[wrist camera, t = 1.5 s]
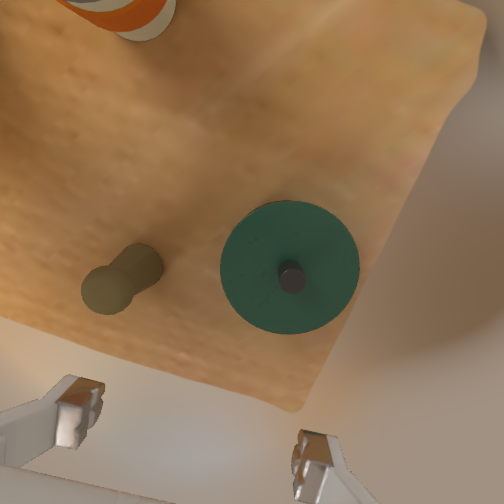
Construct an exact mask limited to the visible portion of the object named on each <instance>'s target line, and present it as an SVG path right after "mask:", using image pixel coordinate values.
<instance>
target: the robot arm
mask: <svg viewBox="0 0 504 504" xmlns="http://www.w3.org/2000/svg"><path fill="white" fill-rule="evenodd" d="M104 392H105V384H104V383H102V382H97V381H94V380H90V379H86V378H82V377H77V376H73V375H70V374H69V375H66V376H65V377H63V378H62V379H61V380H60V381H59V382H58V383H57V384H56V385H55V386H54V387H53V388H52V389H51V390H50V391H49V392H48V393H47V394H46V395H45V396H44V397H43V398H42V399H41V400H39V399H36V400H32V401H30V402H27V403H24V404H21V405H19V406H16V407H13V408H11V409H8V410H5V411H2V412H0V504H174V503H170V502H166V501H161V500H157V499H152V498H147V497H143V496H139V495H135V494H130V493H126V492H121V491H117V490H113V489H108V488H104V487H99V486H95V485H90V484H86V483H82V482H78V481H73V480H69V479H65V478H60V477H56V476H51V475H47V474H43V473H38V472H34V471H29V470H25V469H21V468H20V467H21V466H23V465H24V464H26V463H28V462H29V461H31V460H33V459H34V458H36V457H38V456H39V455H41V454H43V453H44V452H46V451H47V450H49V449H51V448H52V447H53V446H58V447H63V448H68V449H73V450H77V449H78V447H79V446H80V444H81V443H82V441H83V440H84V439H85V437H86V434H87V430H88V429H90V428H92V427H93V426H94V424H95V423H96V421H97V419H98V417H99V415H100V413H101V410H102V405H103V401H102V399H101V396H102V395H103V394H104ZM291 467H292V474H293V475H294V476H295V479H294V482H293V489H294V499H295V501H300V502H303V503H307V504H380V503H379V502H378V501H377V500H376V498H375V497H374V496H373V495H372V494H371V493H370V492H369V491H368V489H367V488H366V487H365V486H364V485H363V484H362V483H361V482H360V481H359V479H358V478H357V477H356V476H355V475H354V474H353V473H352V472H351V471H348V470H347V466H346V463H345V459H344V456H343V452H342V449H341V446H340V443H339V439H338V437H337V436H332V435H328V434H321V433H317V432H312V431H308V430H303V429H301V430H300V431H299V434H298V444H297V445H296V446H295V447H294V450H293V455H292V464H291Z"/></svg>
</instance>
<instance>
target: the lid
mask: <svg viewBox="0 0 504 504" xmlns="http://www.w3.org/2000/svg"><path fill="white" fill-rule="evenodd" d="M359 269H360V267H359V255H358V250H357V247H356V244H355V242H354V240H353V238H352V235H351V234H350V232H349V231H348V229H347V228H346V227H345V225H344V224H343V223H342V222H341V221H340V220H339V219H338V218H336V217H335V216H334V215H333V214H331V213H330V212H328V211H327V210H325V209H323V208H321V207H319V206H316V205H313V204H310V203H306V202H300V201H282V202H276V203H272V204H268V205H266V206H263V207H261V208H259V209H257V210H255V211H253V212H252V213H250V214H249V215H247V216H246V217H245V218H244V219H243V220H242V221H241V222H240V223H238V225H237V226H236V227H235V228H234V230H233V231H232V233H231V234H230V236H229V238H228V239H227V242H226V244H225V246H224V249H223V253H222V257H221V264H220V274H221V282H222V285H223V289H224V292H225V294H226V296H227V299H228V300H229V302H230V304H231V305H232V307H233V308H234V309H235V310H236V312H237V313H238V314H239V315H240V316H241V317H242V318H244V319H245V320H246V321H248V322H249V323H251V324H252V325H254V326H256V327H258V328H260V329H263V330H265V331H268V332H272V333H277V334H300V333H305V332H309V331H312V330H315V329H317V328H319V327H322V326H324V325H325V324H327V323H328V322H330V321H331V320H333V319H334V318H335V317H336V316H338V315H339V314H340V312H341V311H342V310H343V309H344V308H345V307H346V305H347V304H348V303H349V301H350V299H351V297H352V296H353V294H354V291H355V289H356V286H357V282H358V278H359Z"/></svg>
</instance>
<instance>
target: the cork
mask: <svg viewBox="0 0 504 504" xmlns="http://www.w3.org/2000/svg"><path fill="white" fill-rule="evenodd" d="M162 271H163V264H162V260H161V258H160V256H159V254H158V253H157V252H156V251H155V250H154V249H153V248H151V247H149V246H147V245H143V244H133V245H131V246H129V247H126V248H125V249H124V250H123V251H122V252H121V253H120V254H119V255H118V256H117V257H116V258H115V259H114V260H113V261H112V262H111V263H110V264H109V265H108V266H101V267H99V268H96V269H94V270H92V271H91V272H90V273H89V274H88V275H87V276H86V277H85V279H84V281H83V283H82V287H81V294H82V298H83V301H84V302H85V304H86V306H88V307H89V308H90V309H91V310H92V311H94V312H96V313H99V314H104V315H112V314H116V313H118V312H120V311H123V310H124V309H125V308H126V307H127V306H128V305H129V304H130V303H131V301H132V299H133V297H134V295H136V294H137V293H139V292H141V291H143V290H144V289H146V288H148V287H150V286H151V285H153V284H155V283H156V282H157V281H158V280H159V279H160V277H161V275H162Z"/></svg>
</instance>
